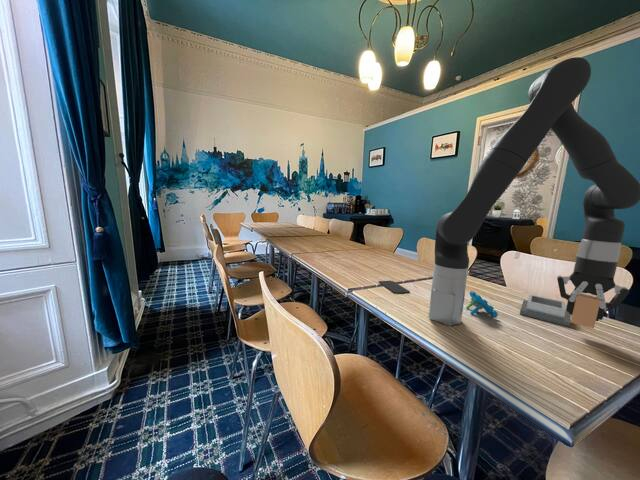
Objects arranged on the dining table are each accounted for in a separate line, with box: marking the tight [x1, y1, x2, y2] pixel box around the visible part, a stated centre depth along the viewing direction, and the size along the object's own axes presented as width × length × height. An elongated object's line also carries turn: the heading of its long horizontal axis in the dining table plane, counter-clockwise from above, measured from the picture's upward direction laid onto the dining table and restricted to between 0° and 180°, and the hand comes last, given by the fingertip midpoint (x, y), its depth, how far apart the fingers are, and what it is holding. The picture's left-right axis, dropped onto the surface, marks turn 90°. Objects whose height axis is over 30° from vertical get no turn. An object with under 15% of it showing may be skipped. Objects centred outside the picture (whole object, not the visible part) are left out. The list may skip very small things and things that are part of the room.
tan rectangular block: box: [570, 293, 601, 329], centre depth 70 cm, size 4×4×8 cm
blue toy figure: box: [465, 290, 499, 318], centre depth 83 cm, size 11×6×10 cm
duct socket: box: [519, 294, 572, 328], centre depth 85 cm, size 13×12×4 cm
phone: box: [377, 280, 411, 295], centre depth 107 cm, size 7×1×15 cm
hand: (583, 316), depth 70 cm, fingers closed on tan rectangular block, 4 cm apart
